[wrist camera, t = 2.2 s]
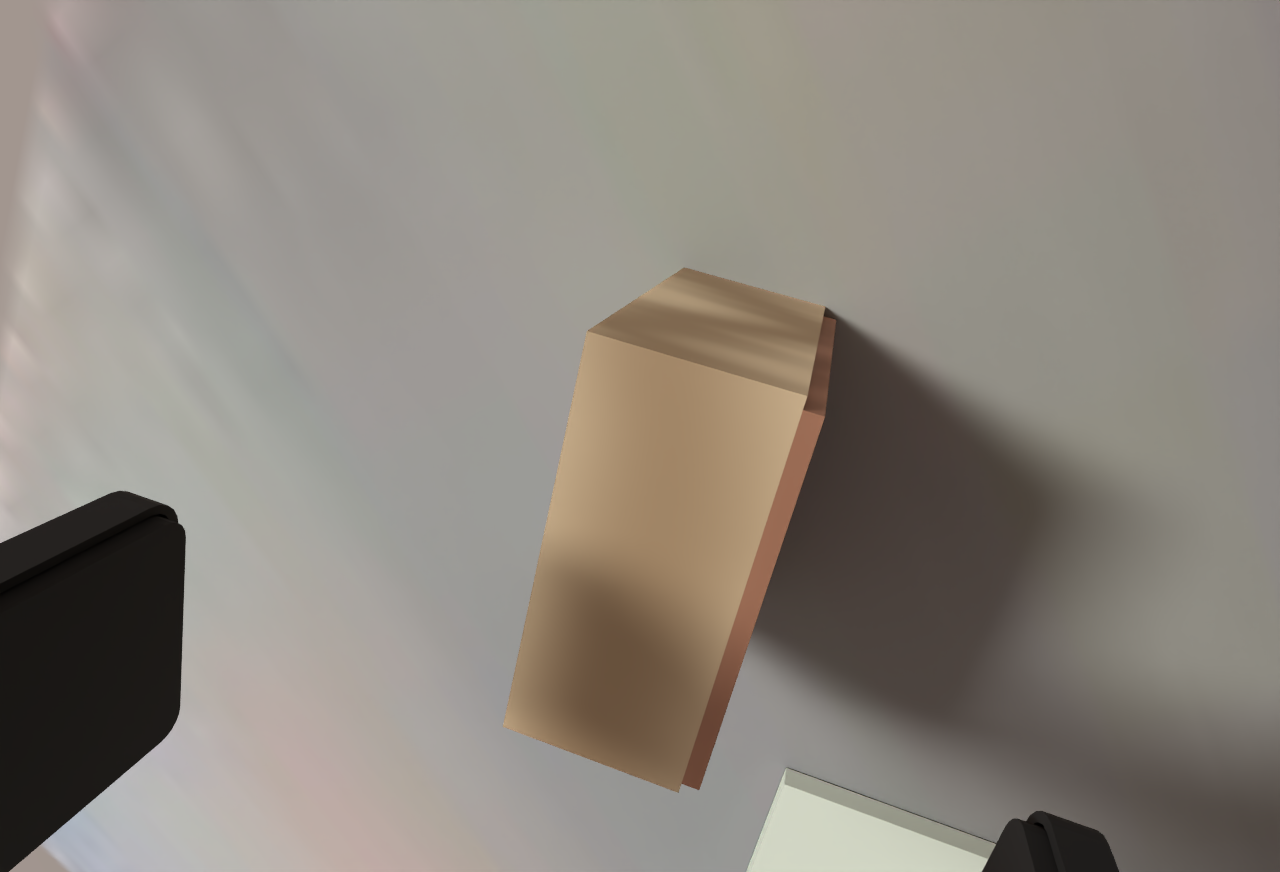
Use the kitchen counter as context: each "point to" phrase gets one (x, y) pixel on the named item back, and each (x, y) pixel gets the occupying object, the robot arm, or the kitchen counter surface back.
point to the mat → (856, 835)
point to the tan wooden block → (668, 521)
